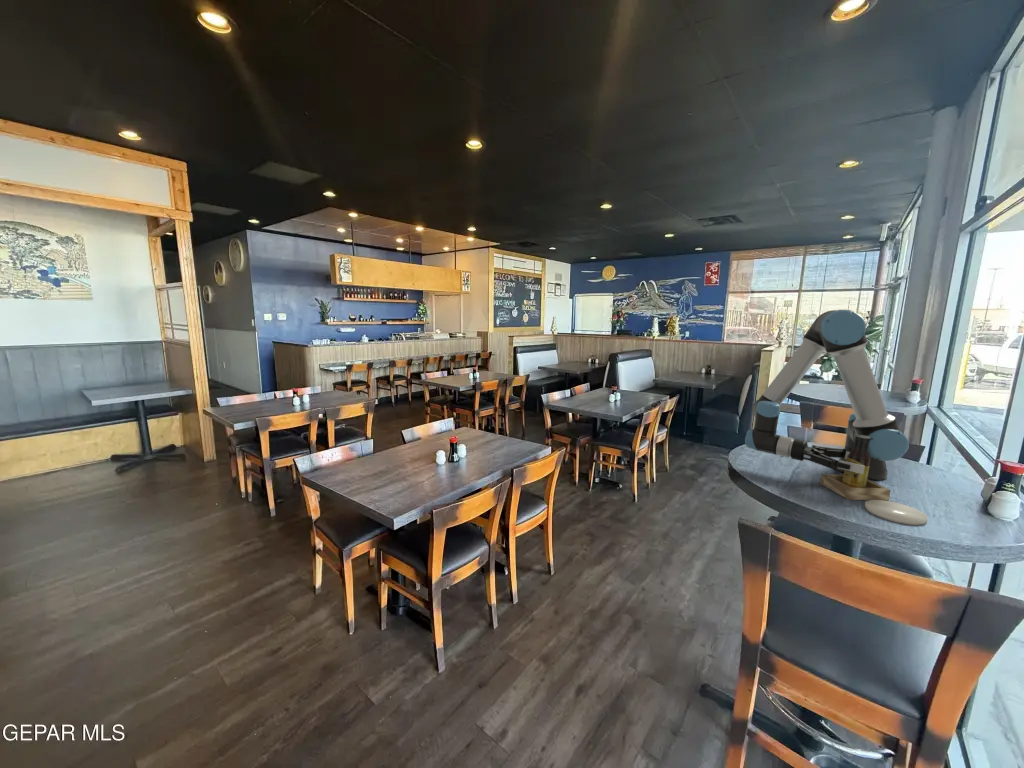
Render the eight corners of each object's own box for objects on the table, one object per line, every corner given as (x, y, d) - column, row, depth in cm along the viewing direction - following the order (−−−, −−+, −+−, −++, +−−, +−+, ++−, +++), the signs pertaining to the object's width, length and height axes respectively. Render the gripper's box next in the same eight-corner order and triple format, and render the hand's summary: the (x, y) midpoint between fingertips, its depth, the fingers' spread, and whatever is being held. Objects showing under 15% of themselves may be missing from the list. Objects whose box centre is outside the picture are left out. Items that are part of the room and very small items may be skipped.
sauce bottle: (836, 487, 144) (844, 433, 141) (852, 487, 145) (861, 432, 142) (853, 495, 138) (861, 438, 135) (870, 495, 138) (879, 438, 135)
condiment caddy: (856, 484, 148) (858, 474, 147) (888, 500, 135) (890, 490, 134) (820, 483, 148) (821, 474, 147) (848, 499, 135) (850, 489, 134)
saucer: (897, 503, 132) (897, 500, 132) (941, 525, 119) (941, 521, 118) (853, 502, 133) (853, 499, 132) (891, 524, 119) (892, 520, 119)
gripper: (799, 451, 162) (869, 466, 147) (781, 465, 145) (859, 485, 130) (802, 432, 161) (873, 446, 146) (785, 445, 143) (863, 462, 128)
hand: (867, 465), depth 138 cm, fingers open, 13 cm apart
